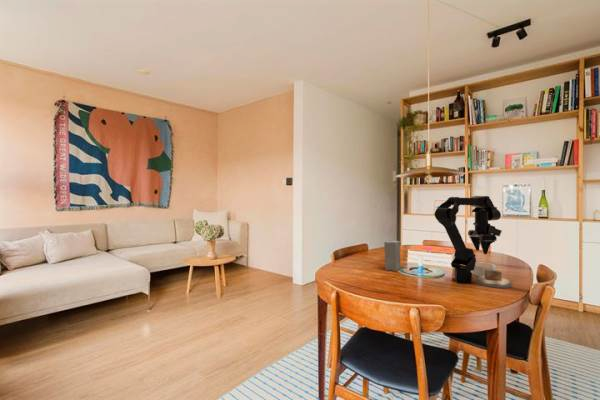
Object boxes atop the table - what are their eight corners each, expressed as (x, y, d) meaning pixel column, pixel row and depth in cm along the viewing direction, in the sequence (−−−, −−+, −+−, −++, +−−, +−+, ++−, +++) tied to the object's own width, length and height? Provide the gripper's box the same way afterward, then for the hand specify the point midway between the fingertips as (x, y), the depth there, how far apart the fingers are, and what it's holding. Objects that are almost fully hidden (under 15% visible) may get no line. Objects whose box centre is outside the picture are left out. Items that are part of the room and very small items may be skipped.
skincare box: (396, 271, 164) (396, 242, 163) (383, 269, 168) (383, 241, 168) (401, 268, 170) (401, 240, 170) (389, 266, 175) (389, 239, 174)
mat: (482, 287, 135) (482, 285, 135) (469, 278, 150) (469, 276, 150) (519, 289, 132) (519, 287, 132) (502, 279, 147) (502, 277, 147)
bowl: (475, 276, 152) (475, 267, 152) (467, 271, 163) (467, 262, 163) (499, 277, 150) (499, 267, 150) (489, 271, 161) (490, 262, 161)
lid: (483, 285, 136) (483, 274, 136) (472, 277, 149) (472, 267, 148) (515, 286, 133) (515, 275, 133) (501, 278, 146) (501, 268, 146)
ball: (480, 273, 155) (480, 265, 155) (477, 271, 159) (477, 264, 159) (489, 273, 154) (489, 266, 154) (485, 271, 158) (485, 264, 158)
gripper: (509, 223, 138) (508, 256, 138) (490, 219, 156) (490, 249, 157) (482, 223, 140) (482, 256, 140) (467, 219, 158) (467, 248, 159)
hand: (481, 252), depth 149 cm, fingers open, 9 cm apart
